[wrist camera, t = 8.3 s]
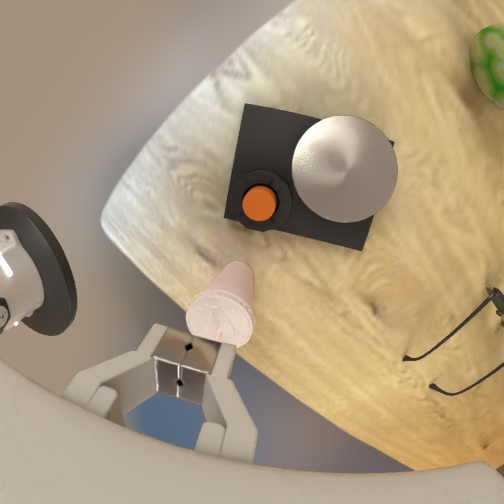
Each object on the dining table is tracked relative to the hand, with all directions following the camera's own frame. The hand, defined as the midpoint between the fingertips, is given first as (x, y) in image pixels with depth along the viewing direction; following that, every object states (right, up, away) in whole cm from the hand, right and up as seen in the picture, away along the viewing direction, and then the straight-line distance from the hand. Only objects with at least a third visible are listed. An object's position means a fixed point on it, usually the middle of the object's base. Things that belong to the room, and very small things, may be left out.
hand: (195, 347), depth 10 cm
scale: (+8, +11, +19) cm, 24 cm away
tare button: (+3, +8, +18) cm, 20 cm away
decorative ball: (+29, +24, +11) cm, 39 cm away
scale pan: (+11, +11, +16) cm, 22 cm away
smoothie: (0, +1, +25) cm, 25 cm away
